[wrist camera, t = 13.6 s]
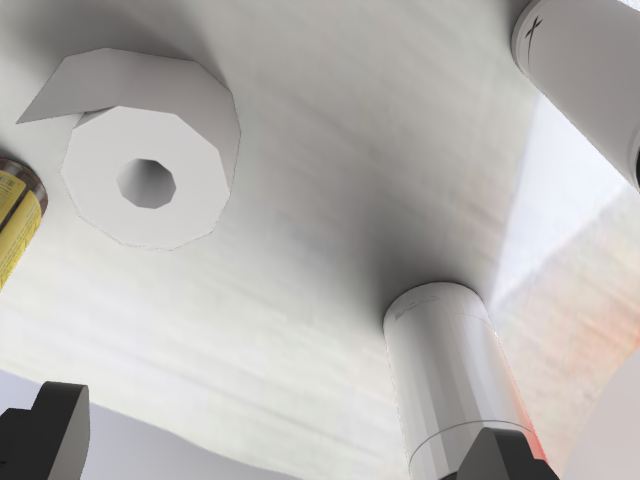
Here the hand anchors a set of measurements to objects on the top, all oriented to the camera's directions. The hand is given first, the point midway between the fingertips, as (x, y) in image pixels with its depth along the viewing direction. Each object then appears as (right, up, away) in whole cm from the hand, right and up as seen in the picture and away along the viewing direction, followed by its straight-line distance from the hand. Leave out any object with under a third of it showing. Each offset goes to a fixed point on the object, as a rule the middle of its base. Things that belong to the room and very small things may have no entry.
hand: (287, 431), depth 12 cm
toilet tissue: (-11, +13, +28) cm, 32 cm away
